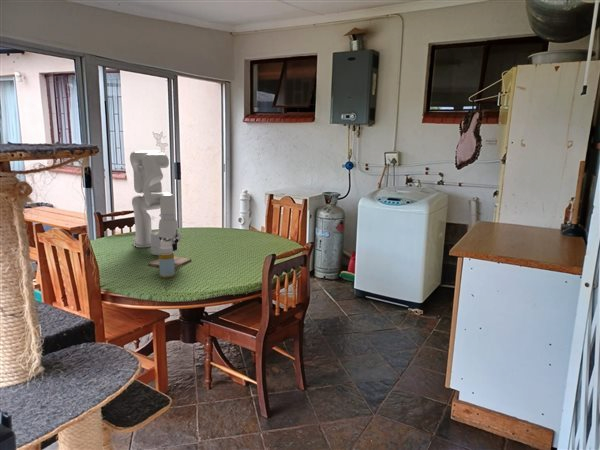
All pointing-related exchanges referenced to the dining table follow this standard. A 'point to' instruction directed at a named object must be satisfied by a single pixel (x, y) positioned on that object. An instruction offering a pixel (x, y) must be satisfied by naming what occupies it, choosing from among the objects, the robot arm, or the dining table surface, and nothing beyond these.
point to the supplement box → (155, 243)
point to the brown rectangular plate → (177, 262)
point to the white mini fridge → (168, 243)
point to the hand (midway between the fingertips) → (169, 249)
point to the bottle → (166, 262)
